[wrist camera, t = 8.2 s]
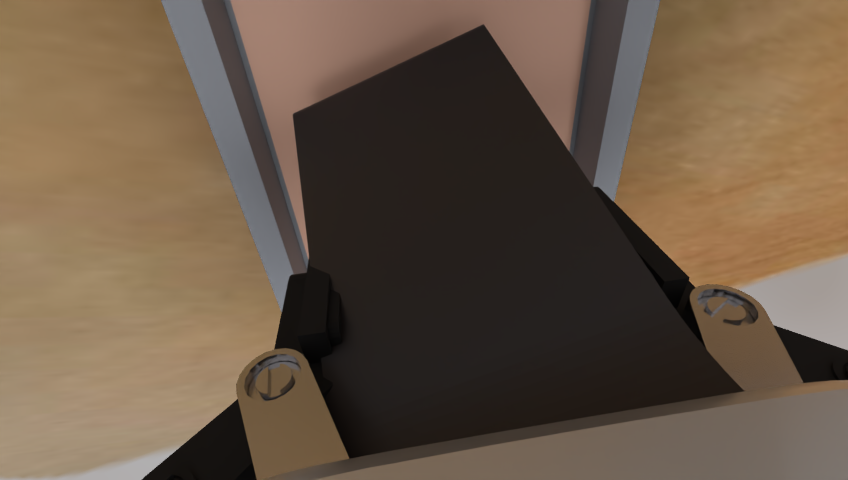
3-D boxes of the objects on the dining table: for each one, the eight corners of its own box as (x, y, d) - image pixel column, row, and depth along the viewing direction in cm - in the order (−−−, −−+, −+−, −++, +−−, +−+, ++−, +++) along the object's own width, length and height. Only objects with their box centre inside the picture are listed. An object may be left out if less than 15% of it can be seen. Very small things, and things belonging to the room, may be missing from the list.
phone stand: (293, 108, 12) (68, 695, 3) (482, 21, 12) (1080, 389, 2) (410, 302, 18) (476, 742, 8) (545, 250, 17) (800, 661, 7)
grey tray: (632, -138, 13) (695, -156, 10) (563, 277, 23) (587, 317, 20) (166, -100, 12) (118, -111, 10) (306, 314, 22) (300, 360, 20)
